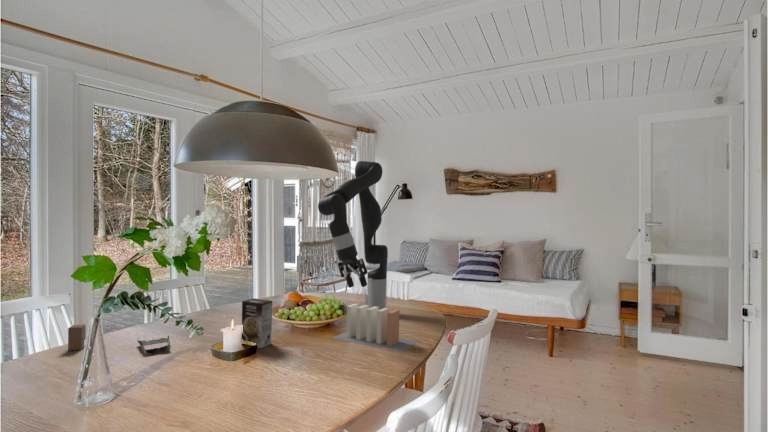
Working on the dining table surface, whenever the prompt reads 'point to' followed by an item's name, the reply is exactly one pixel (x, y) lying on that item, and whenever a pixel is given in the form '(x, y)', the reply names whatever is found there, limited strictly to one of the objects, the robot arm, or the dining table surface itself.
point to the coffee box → (257, 321)
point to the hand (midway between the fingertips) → (357, 286)
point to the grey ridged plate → (397, 347)
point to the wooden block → (76, 337)
